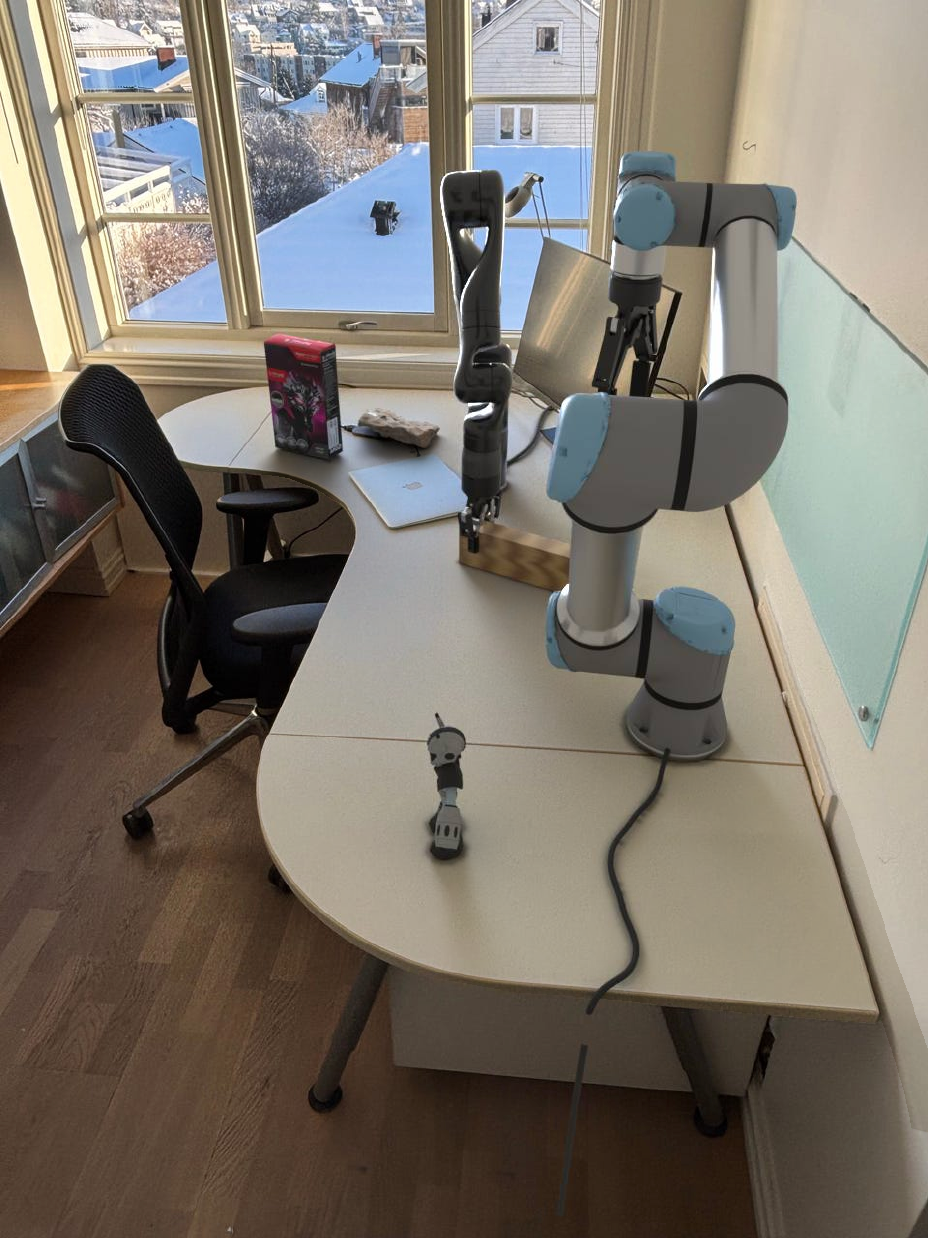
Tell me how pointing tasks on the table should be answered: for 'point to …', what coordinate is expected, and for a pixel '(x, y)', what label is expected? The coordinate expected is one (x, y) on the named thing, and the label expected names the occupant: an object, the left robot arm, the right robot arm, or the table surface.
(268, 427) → the table surface
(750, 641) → the table surface
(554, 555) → the bar
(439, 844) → the robot
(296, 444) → the graphics card box
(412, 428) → the stone
